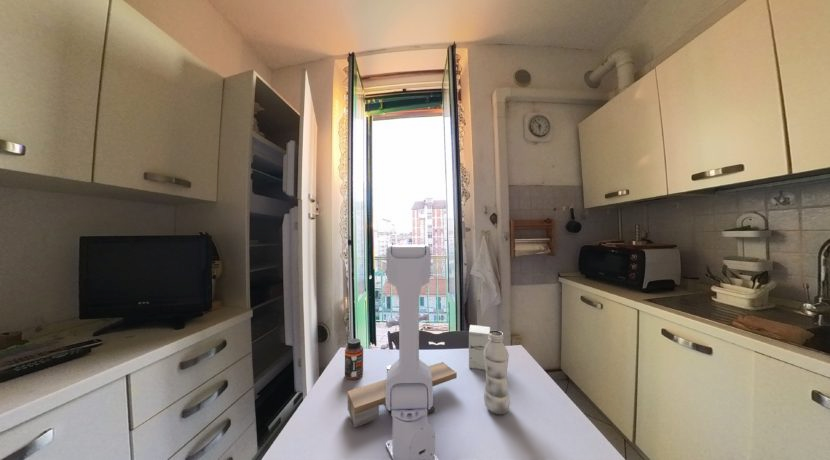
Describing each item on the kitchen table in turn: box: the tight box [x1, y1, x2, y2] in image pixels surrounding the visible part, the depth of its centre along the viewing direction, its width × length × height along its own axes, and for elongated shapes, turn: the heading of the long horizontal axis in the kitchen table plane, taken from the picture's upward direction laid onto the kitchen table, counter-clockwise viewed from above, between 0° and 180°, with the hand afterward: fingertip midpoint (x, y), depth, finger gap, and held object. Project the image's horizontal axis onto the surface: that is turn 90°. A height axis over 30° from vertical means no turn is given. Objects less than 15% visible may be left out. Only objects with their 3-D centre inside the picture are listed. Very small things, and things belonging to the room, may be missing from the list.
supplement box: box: [468, 324, 491, 371], centre depth 87 cm, size 7×7×13 cm
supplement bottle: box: [344, 338, 364, 381], centre depth 81 cm, size 6×6×11 cm
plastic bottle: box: [483, 329, 511, 415], centre depth 65 cm, size 6×7×20 cm
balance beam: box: [347, 361, 458, 428], centre depth 68 cm, size 7×30×4 cm, turn 119°
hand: (408, 345), depth 79 cm, fingers closed
